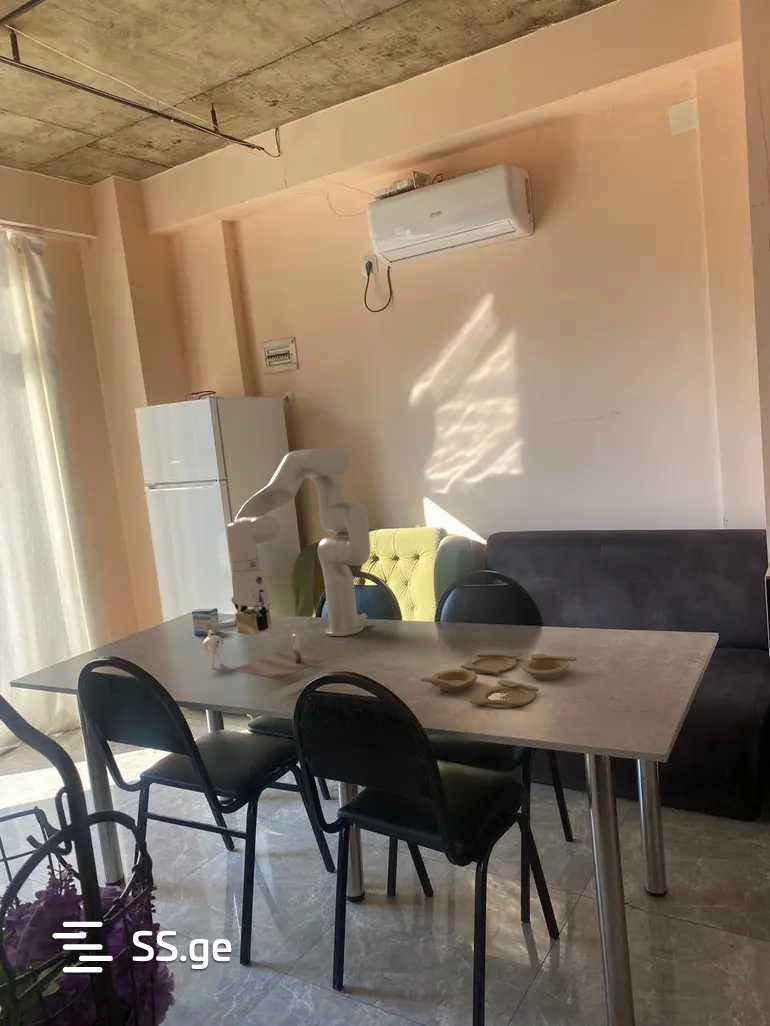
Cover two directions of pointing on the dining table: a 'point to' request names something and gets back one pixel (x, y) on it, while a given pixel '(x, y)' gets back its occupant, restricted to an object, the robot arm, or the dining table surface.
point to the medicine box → (205, 621)
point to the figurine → (213, 647)
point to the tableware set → (496, 663)
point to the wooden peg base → (279, 663)
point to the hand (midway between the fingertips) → (254, 627)
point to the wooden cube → (250, 622)
